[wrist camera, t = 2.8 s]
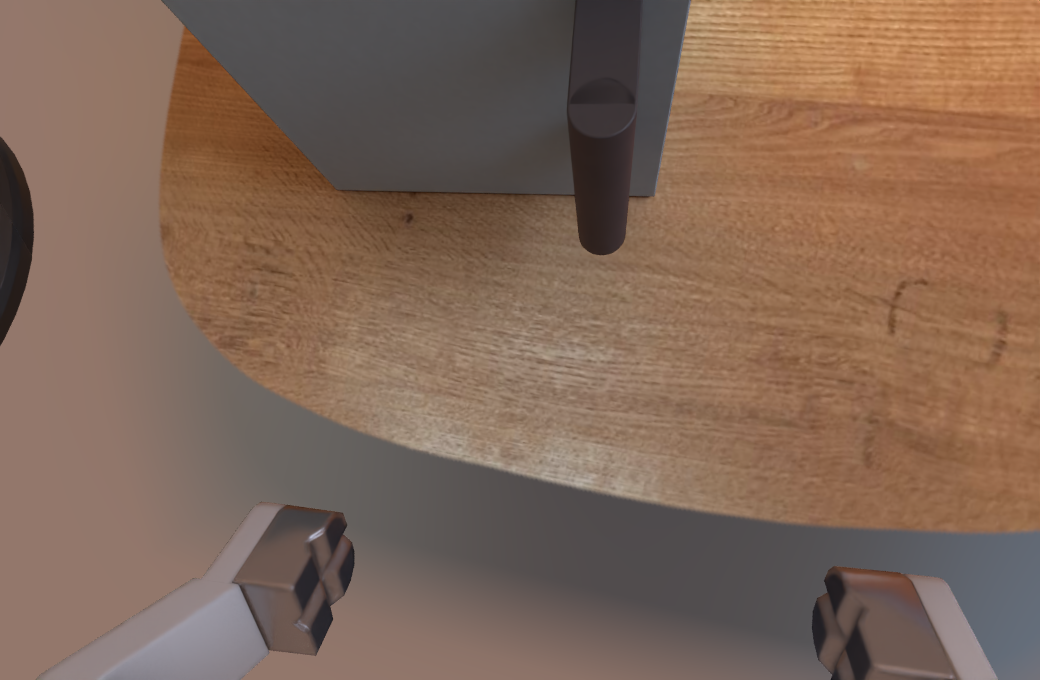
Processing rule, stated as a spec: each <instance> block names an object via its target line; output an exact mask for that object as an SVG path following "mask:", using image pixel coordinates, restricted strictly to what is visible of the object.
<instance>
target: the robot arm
mask: <svg viewBox="0 0 1040 680" xmlns="http://www.w3.org/2000/svg"><path fill="white" fill-rule="evenodd" d="M346 527H347V523H346V520H345V517H344V514H343V513H341V512H334V511H327V510H320V509H313V508H306V507H299V506H292V505H284V504H276V503H268V502H260V503H259V504H257V505H256V506H254V507H253V508H252V509H251V510H250V512H249V513H248V515H247V516H246V517H245V519H244V520H243V521H242V523H241V524H240V526H239V527H238V528H237V530H236V531H235V533H234V534H233V535H232V537H231V538H230V540H229V541H228V542H227V544H226V545H225V547H224V548H223V549H222V551H221V552H220V554H219V555H218V556H217V558H216V559H215V561H214V562H213V564H212V565H211V566H210V567H209V569H208V570H207V572H206V573H205V574H204V576H203V577H202V579H197V578H193V579H192V580H190V581H188V582H187V583H185V584H183V585H182V586H180V587H179V588H177V589H175V590H174V591H172V592H171V593H169V594H167V595H166V596H164V597H163V598H161V599H159V600H158V601H156V602H155V603H153V604H152V605H150V606H148V607H147V608H145V609H143V610H142V611H141V612H139V613H137V614H136V615H134V616H132V617H131V618H129V619H128V620H126V621H125V622H123V623H121V624H120V625H118V626H116V627H115V628H113V629H112V630H110V631H108V632H107V633H105V634H104V635H102V636H100V637H99V638H98V639H96V640H94V641H93V642H91V643H89V644H88V645H86V646H85V647H83V648H81V649H80V650H78V651H77V652H75V653H73V654H72V655H70V656H69V657H67V658H65V659H64V660H62V661H61V662H59V663H57V664H56V665H54V666H53V667H51V668H50V669H48V670H46V671H45V672H43V673H42V674H40V675H39V676H38V678H37V679H36V680H241V678H243V677H244V676H245V675H246V674H247V673H248V672H249V671H250V670H251V669H253V668H254V667H255V666H256V665H257V664H258V663H259V662H260V661H261V660H262V659H264V658H265V657H266V656H267V655H268V654H269V650H273V651H281V652H289V653H297V654H305V655H314V656H316V655H317V652H318V650H319V648H320V646H321V644H322V642H323V640H324V638H325V635H326V633H327V631H328V629H329V627H330V625H331V623H332V621H333V617H332V612H331V608H330V606H331V605H332V604H334V603H335V602H336V601H338V600H339V599H340V598H341V597H343V596H344V594H345V592H346V590H347V588H348V586H349V583H350V581H351V577H352V572H353V568H354V549H353V545H352V542H351V541H350V540H349V539H348V538H347V537H346V536H345V535H343V533H344V531H345V529H346ZM824 582H825V585H826V588H827V591H828V592H827V593H826V594H824V595H822V596H820V597H818V598H817V601H816V603H815V607H814V610H813V620H812V632H813V639H814V645H815V649H816V652H817V657H818V660H819V661H820V662H821V663H822V664H823V666H824V667H825V668H826V669H827V670H828V671H829V672H830V673H831V674H832V678H831V680H998V678H997V676H996V675H995V673H994V671H993V669H992V667H991V665H990V663H989V662H988V659H987V658H986V656H985V654H984V652H983V650H982V648H981V646H980V644H979V642H978V640H977V638H976V637H975V635H974V633H973V631H972V629H971V627H970V625H969V623H968V621H967V620H966V618H965V616H964V614H963V612H962V610H961V608H960V607H959V604H958V602H957V601H956V599H955V597H954V595H953V593H952V591H951V589H950V587H949V585H948V584H947V583H946V582H945V581H944V580H943V579H941V578H936V577H928V576H919V575H909V574H901V573H898V572H888V571H887V572H886V571H877V570H867V569H857V568H847V567H837V566H834V567H832V568H831V569H829V570H828V573H827V575H826V577H825V580H824Z"/></svg>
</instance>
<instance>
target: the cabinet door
mask: <svg viewBox="0 0 1040 680" xmlns="http://www.w3.org/2000/svg"><path fill="white" fill-rule="evenodd" d="M162 2H163V3H164V4H165V5H166V6H167V7H168V8H169V9H170V10H171V11H172V12H173V13H174V15H175V16H176V17H177V18H178V19H179V20H180V21H181V22H182V23H183V24H184V25H185V26H186V28H187V29H188V30H189V31H190V32H191V33H192V34H193V35H194V36H195V37H196V38H197V39H198V40H199V42H200V43H201V44H202V45H203V46H204V47H205V48H206V49H207V50H208V51H209V52H210V53H211V55H212V56H213V57H214V58H215V59H216V60H217V61H218V62H219V63H220V64H221V65H222V66H223V68H224V69H225V70H226V71H227V72H228V73H229V74H230V75H231V76H232V77H233V78H234V79H235V80H236V82H237V83H238V84H239V85H240V86H241V87H242V88H243V89H244V90H245V91H246V92H247V93H248V95H249V96H250V97H251V98H252V99H253V100H254V101H255V102H256V103H257V104H258V105H259V106H260V108H261V109H262V110H263V111H264V112H265V113H266V114H267V115H268V116H269V117H270V118H271V119H272V120H273V122H274V123H275V124H276V125H277V126H278V127H279V128H280V129H281V130H282V131H283V132H284V133H285V135H286V136H287V137H288V138H289V139H290V140H291V141H292V142H293V143H294V144H295V145H296V146H297V148H298V149H299V150H300V151H301V152H302V153H303V154H304V155H305V156H306V157H307V158H308V159H309V160H310V162H311V163H312V164H313V165H314V166H315V167H316V168H317V169H318V170H319V171H320V172H321V173H322V175H323V176H324V177H325V178H326V179H327V180H328V181H329V182H330V183H331V184H332V185H333V186H334V187H335V189H336V190H361V191H412V192H463V193H513V194H564V195H575V203H576V213H577V223H578V233H579V240H580V242H581V244H582V246H583V247H584V248H585V249H586V250H587V251H589V252H590V253H593V254H596V255H607V254H610V253H613V252H615V251H616V250H617V249H619V248H620V246H621V245H622V244H623V242H624V239H625V234H626V223H627V213H628V202H629V196H654V195H655V191H656V186H657V180H658V175H659V169H660V164H661V159H662V153H663V148H664V143H665V137H666V132H667V126H668V121H669V116H670V110H671V105H672V99H673V94H674V89H675V83H676V78H677V72H678V67H679V62H680V56H681V51H682V46H683V40H684V35H685V29H686V24H687V19H688V13H689V8H690V2H691V0H162Z"/></svg>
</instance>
